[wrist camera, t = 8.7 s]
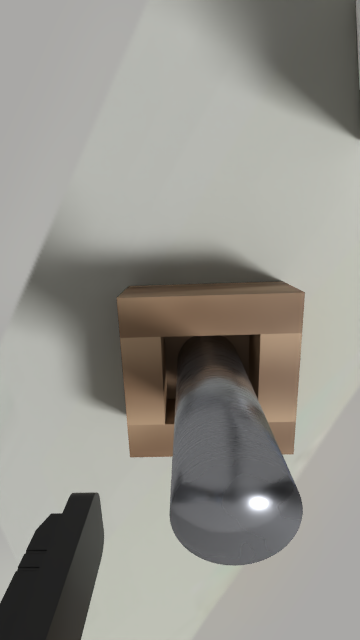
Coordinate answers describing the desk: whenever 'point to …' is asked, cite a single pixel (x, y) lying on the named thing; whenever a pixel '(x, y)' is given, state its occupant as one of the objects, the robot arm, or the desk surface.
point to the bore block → (207, 320)
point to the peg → (226, 462)
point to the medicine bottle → (358, 32)
